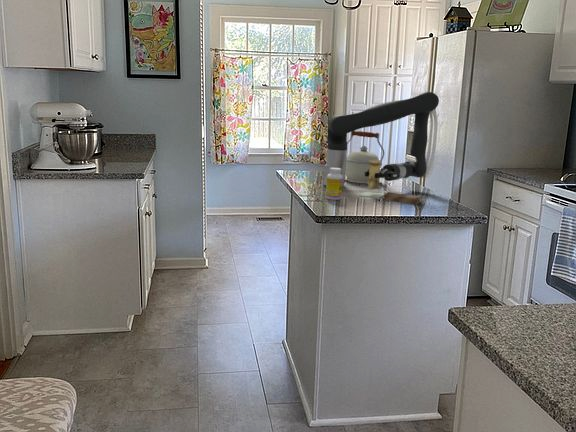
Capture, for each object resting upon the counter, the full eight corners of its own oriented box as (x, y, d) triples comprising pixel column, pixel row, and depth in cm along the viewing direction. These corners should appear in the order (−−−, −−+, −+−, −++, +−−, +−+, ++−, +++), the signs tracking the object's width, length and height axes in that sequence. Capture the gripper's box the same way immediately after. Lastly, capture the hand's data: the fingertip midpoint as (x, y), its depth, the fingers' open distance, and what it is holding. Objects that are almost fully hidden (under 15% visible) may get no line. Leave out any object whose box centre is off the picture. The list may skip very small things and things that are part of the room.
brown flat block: (383, 200, 238) (383, 194, 237) (387, 197, 245) (387, 192, 244) (417, 205, 232) (417, 199, 232) (420, 202, 239) (421, 196, 238)
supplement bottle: (340, 200, 232) (342, 170, 229) (324, 199, 233) (326, 168, 230) (342, 197, 239) (344, 168, 236) (326, 196, 240) (328, 166, 237)
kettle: (388, 181, 286) (392, 132, 280) (373, 186, 270) (378, 134, 265) (344, 175, 298) (348, 128, 293) (327, 179, 283) (331, 129, 277)
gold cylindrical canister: (365, 188, 244) (367, 161, 242) (368, 186, 249) (370, 159, 247) (377, 189, 242) (379, 162, 239) (380, 187, 247) (383, 161, 244)
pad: (359, 196, 244) (359, 194, 244) (364, 192, 252) (365, 191, 252) (379, 198, 241) (379, 197, 241) (384, 195, 249) (384, 194, 249)
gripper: (382, 161, 258) (358, 164, 247) (407, 165, 248) (384, 168, 237) (380, 177, 260) (356, 180, 248) (406, 182, 250) (382, 186, 238)
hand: (370, 174), depth 243 cm, fingers closed on gold cylindrical canister, 4 cm apart
